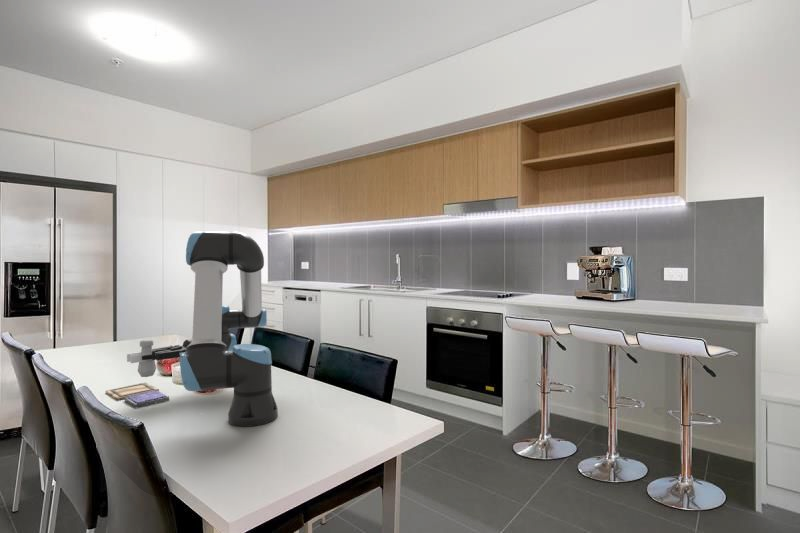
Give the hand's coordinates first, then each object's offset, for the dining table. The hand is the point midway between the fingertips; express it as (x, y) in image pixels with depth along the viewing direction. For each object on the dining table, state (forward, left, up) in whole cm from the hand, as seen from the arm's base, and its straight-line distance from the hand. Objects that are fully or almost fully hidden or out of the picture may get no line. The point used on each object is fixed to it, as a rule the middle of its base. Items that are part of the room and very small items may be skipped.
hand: (129, 358), depth 155 cm
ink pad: (0, -5, -16) cm, 17 cm away
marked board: (+15, -5, -16) cm, 23 cm away
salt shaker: (0, -6, -7) cm, 9 cm away
